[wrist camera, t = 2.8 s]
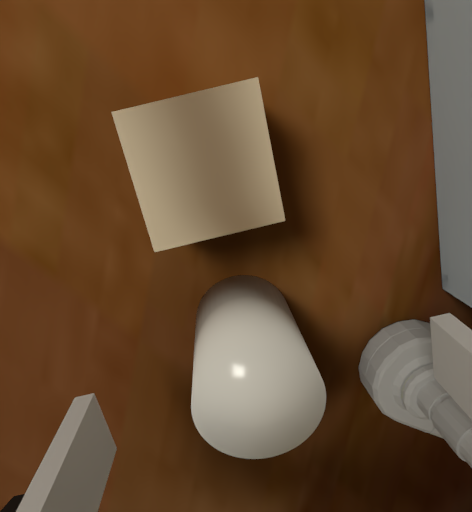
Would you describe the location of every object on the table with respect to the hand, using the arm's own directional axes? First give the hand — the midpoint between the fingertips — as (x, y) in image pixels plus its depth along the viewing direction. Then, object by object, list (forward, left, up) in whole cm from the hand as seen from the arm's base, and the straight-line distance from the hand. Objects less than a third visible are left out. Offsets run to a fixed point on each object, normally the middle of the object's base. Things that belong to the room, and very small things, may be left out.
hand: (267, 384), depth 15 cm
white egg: (0, 0, -6) cm, 6 cm away
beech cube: (0, +8, -6) cm, 10 cm away
